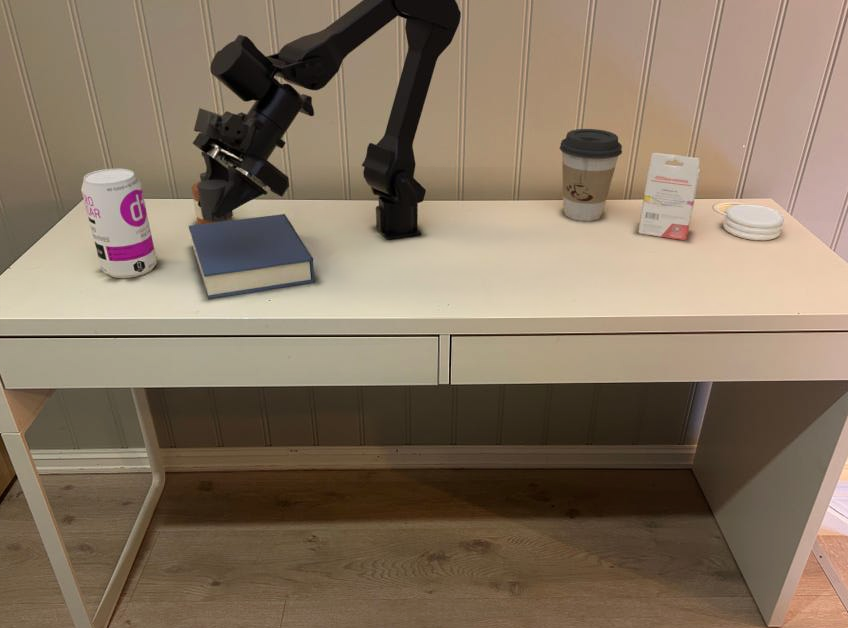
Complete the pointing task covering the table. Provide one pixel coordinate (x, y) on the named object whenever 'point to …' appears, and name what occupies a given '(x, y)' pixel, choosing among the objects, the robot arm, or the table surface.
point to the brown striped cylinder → (196, 199)
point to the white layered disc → (753, 222)
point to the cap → (211, 198)
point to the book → (250, 255)
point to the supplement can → (119, 222)
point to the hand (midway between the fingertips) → (207, 211)
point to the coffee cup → (588, 171)
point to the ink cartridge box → (669, 196)
